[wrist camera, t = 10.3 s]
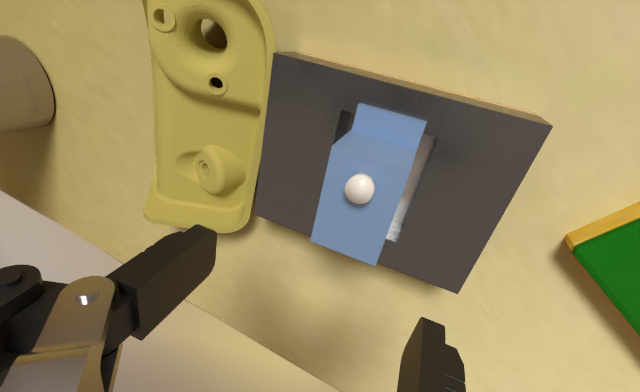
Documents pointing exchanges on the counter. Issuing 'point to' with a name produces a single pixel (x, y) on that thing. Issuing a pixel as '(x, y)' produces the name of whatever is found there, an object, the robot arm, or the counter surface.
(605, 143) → the counter surface
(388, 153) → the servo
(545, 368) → the counter surface
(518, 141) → the grey hollow block
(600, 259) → the dish sponge
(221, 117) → the plastic component
